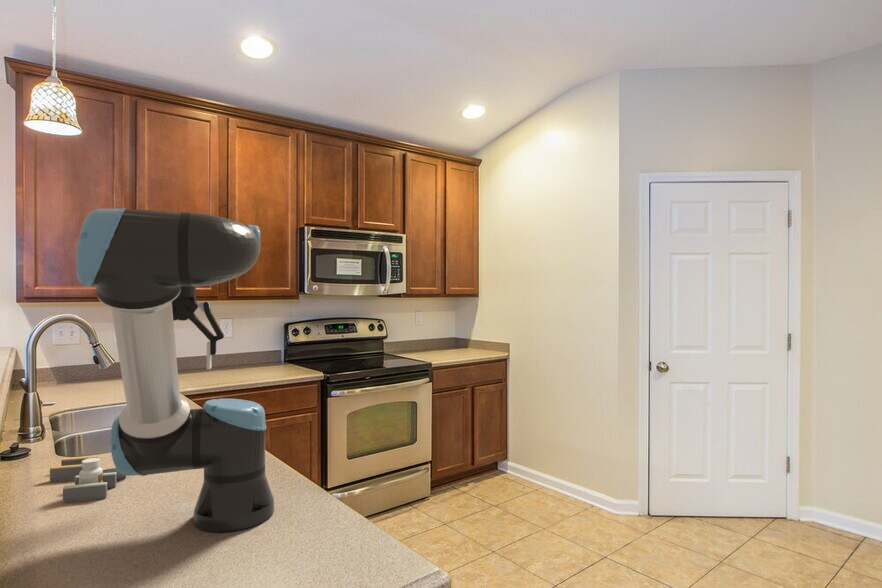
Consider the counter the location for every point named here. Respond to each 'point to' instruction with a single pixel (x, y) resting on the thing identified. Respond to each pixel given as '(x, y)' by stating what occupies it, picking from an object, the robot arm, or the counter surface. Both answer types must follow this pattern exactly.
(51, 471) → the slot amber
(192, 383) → the counter surface
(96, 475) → the pill bottle
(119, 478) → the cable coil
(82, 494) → the slot sage
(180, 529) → the counter surface
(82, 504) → the counter surface
